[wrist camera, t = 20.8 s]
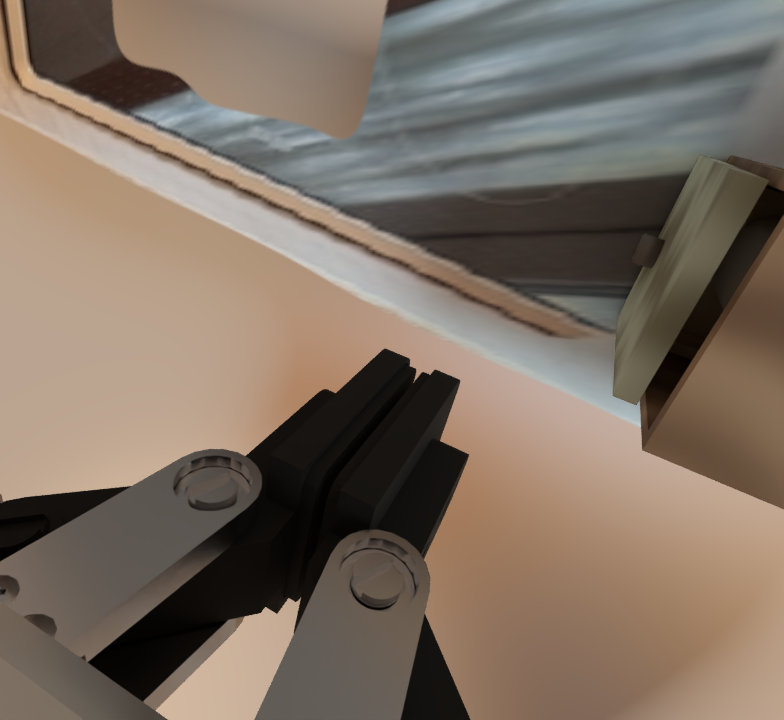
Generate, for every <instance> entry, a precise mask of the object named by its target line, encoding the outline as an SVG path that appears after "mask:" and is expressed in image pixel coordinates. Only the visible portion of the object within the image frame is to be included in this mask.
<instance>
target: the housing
mask: <svg viewBox="0 0 784 720" xmlns="http://www.w3.org/2000/svg"><path fill="white" fill-rule="evenodd" d="M727 163H728V164H730V165H733V166H735V167H738V168H740V169H743V170H745V171H747V172H750V173H752V174H755V175H757V176H760V177H762V178H765V179H767V180H769V182H768V184H767V185H766V186H770V187H773V188H777V189H779V190H782V191H784V169H781V168H777V167H773V166H769V165H766V164H762V163H758V162H754V161H750V160H747V159H743V158H739V157H735V156H732V155H731V156H730V158H729V160H728V162H727ZM640 410H641V432H642V450H643V451H646V452H648V453H651V454H653V455H656V456H658V457H660V458H662V459H665V460H667V461H670V462H672V463H674V464H677V465H679V466H682V467H684V468H686V469H689V470H691V471H694V472H696V473H698V474H701V475H703V476H706V477H708V478H710V479H713V480H715V481H718V482H720V483H722V484H725V485H727V486H730V487H732V488H734V489H737V490H739V491H741V492H744V493H746V494H749V495H751V496H754V497H756V498H758V499H761V500H763V501H765V502H768V503H770V504H773V505H775V506H778V507H780V508H782V509H784V215H783V216H782V218H781V220H780V221H779V223H778V224H777V226H776V228H775V229H774V231H773V232H772V234H771V236H770V237H769V239H768V240H767V242H766V244H765V245H764V247H763V248H762V250H761V252H760V253H759V255H758V256H757V258H756V260H755V261H754V263H753V264H752V266H751V267H750V269H749V271H748V272H747V274H746V275H745V277H744V279H743V280H742V282H741V283H740V285H739V287H738V288H737V290H736V291H735V293H734V295H733V296H732V298H731V299H730V301H729V303H728V304H727V306H726V307H725V309H724V311H723V312H722V314H721V315H720V317H719V319H718V320H717V322H716V323H715V325H714V326H713V328H712V330H711V331H710V333H709V334H708V336H707V338H706V339H705V341H704V342H703V344H702V346H701V347H700V349H699V350H698V352H697V354H696V355H695V357H694V358H693V360H691V359H688V358H685V357H683V356H680V355H677V354H674V353H672V352H669V351H668V353H667V354H666V356H665V358H664V360H663V361H662V363H661V365H660V366H659V368H658V370H657V371H656V373H655V375H654V376H653V378H652V380H651V381H650V383H649V385H648V387H647V388H646V390H645V392H644V393H643V395H642V397H641V398H640Z"/></svg>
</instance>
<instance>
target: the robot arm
mask: <svg viewBox="0 0 784 720" xmlns="http://www.w3.org/2000/svg"><path fill="white" fill-rule="evenodd" d="M409 365H410V359H409V358H407V357H404V356H402V355H400V354H397V353H395V352H393V351H390V350H388V349H384V350H382V351H381V352H380V353H379V354H378V355H377V356H376V357H375V358H373V359H372V360H371V361H370V362H369V363H368V364H367V365H366V366H365V367H364V368H363V369H362V370H361V371H359V372H358V373H357V374H356V375H355V376H354V377H353V378H352V379H351V380H350V381H349V382H348V383H347V384H346V385H344V386H343V387H342V388H341V389H340V390H339V391H338V392H337V393H334V392H331V391H329V390H327V389H324V390H322V391H320V392H319V393H317V394H316V395H315V396H314V397H313V398H312V399H310V400H309V401H308V402H307V403H306V404H305V405H304V406H302V407H301V408H300V409H299V410H298V411H297V412H296V413H295V414H293V415H292V416H291V417H290V418H289V419H288V420H286V421H285V422H284V423H283V424H282V425H281V426H279V427H278V428H277V429H276V430H275V431H274V432H273V433H272V434H270V435H269V436H268V437H267V438H266V439H265V440H264V441H262V442H261V443H260V444H259V445H258V446H257V447H255V448H254V449H253V450H252V451H251V452H250V453H249V454H247V455H246V456H244V455H242V454H240V453H238V452H234V451H229V450H224V449H208V450H202V451H198V452H194V453H191V454H189V455H187V456H184V457H182V458H180V459H178V460H177V461H175V462H173V463H172V464H170V465H168V466H166V467H164V468H163V469H161V470H159V471H157V472H156V473H154V474H152V475H150V476H149V477H147V478H145V479H144V480H142V481H140V482H138V483H137V484H135V485H133V486H129V487H119V488H109V489H100V490H90V491H80V492H71V493H61V494H51V495H42V496H32V497H24V498H19V499H14V500H9V501H5V502H3V500H2V496H1V494H0V720H167V719H166V718H164V717H163V716H162V715H160V714H159V713H158V712H156V711H155V710H156V709H157V708H158V707H159V706H160V705H161V704H162V703H163V702H164V701H165V700H166V699H167V698H168V697H169V696H170V695H171V694H172V693H173V692H174V691H175V690H176V689H177V688H178V687H179V686H180V685H181V684H182V683H183V682H184V681H185V680H186V679H187V678H188V677H189V676H190V675H191V674H192V673H193V672H194V671H195V670H196V669H197V668H198V667H199V666H200V665H201V664H202V663H203V662H204V661H205V660H207V659H208V657H210V656H211V655H212V654H213V652H214V651H216V650H217V649H218V648H219V647H220V646H221V645H222V643H224V641H226V640H227V639H228V638H229V637H230V636H231V635H232V634H233V633H234V632H235V630H236V629H237V628H238V626H239V625H240V624H241V623H242V621H243V618H244V616H249V615H253V614H258V613H261V612H262V610H263V609H264V608H265V607H267V608H269V609H270V610H272V611H273V612H275V613H278V612H279V611H280V609H281V608H282V606H283V605H284V603H285V602H286V601H287V599H288V598H290V599H292V600H294V601H295V602H296V601H298V600H299V599H300V598H301V601H300V605H299V610H298V615H297V620H296V624H295V629H294V635H293V637H292V639H291V642H290V644H289V646H288V648H287V650H286V652H285V655H284V657H283V659H282V661H281V663H280V665H279V668H278V670H277V672H276V674H275V676H274V678H273V681H272V683H271V685H270V687H269V689H268V691H267V694H266V696H265V698H264V700H263V702H262V705H261V707H260V709H259V711H258V713H257V715H256V717H255V720H470V718H469V715H468V713H467V711H466V708H465V706H464V704H463V701H462V699H461V697H460V694H459V692H458V690H457V687H456V685H455V683H454V680H453V678H452V676H451V673H450V671H449V669H448V667H447V664H446V662H445V660H444V657H443V655H442V653H441V650H440V648H439V646H438V643H437V641H436V639H435V637H434V634H433V632H432V630H431V627H430V625H429V622H428V620H427V618H426V615H425V610H426V605H427V601H428V596H429V592H430V575H429V572H428V568H427V565H426V562H425V561H424V558H425V555H426V554H427V551H428V549H429V547H430V545H431V543H432V541H433V539H434V536H435V534H436V532H437V530H438V528H439V526H440V524H441V521H442V519H443V517H444V515H445V512H446V510H447V508H448V506H449V503H450V501H451V499H452V497H453V494H454V492H455V489H456V487H457V485H458V482H459V479H460V477H461V475H462V472H463V470H464V467H465V465H466V462H467V460H468V457H469V454H467V453H464V452H462V451H460V450H458V449H456V448H454V447H452V446H449V445H447V444H445V443H443V442H441V441H440V439H441V435H442V433H443V430H444V427H445V424H446V422H447V419H448V416H449V413H450V410H451V408H452V405H453V402H454V399H455V396H456V393H457V390H458V387H459V384H460V380H459V379H456V378H454V377H452V376H450V375H447V374H445V373H442V372H440V371H438V370H434V371H433V372H432V374H431V375H429V374H427V373H424V372H422V373H421V374H420V376H419V377H418V378H417V379H416V380H415V382H414V379H415V375H416V369H415V368H413V367H410V366H409ZM413 382H414V383H413Z"/></svg>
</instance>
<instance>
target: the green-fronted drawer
mask: <svg viewBox="0 0 784 720" xmlns="http://www.w3.org/2000/svg"><path fill="white" fill-rule="evenodd" d="M768 182H769V180H767V179H765V178H762V177H760V176H757V175H755V174H752V173H750V172H747V171H745V170H743V169H740V168H738V167H735V166H733V165H730V164H728V163H725V162H723V161H720V160H717V159H713V158H709V157H705V156H702V155H700V156H699V158H698V160H697V162H696V164H695V166H694V168H693V170H692V172H691V174H690V176H689V177H688V179H687V181H686V183H685V185H684V187H683V189H682V191H681V193H680V195H679V197H678V199H677V201H676V203H675V205H674V207H673V209H672V211H671V213H670V215H669V217H668V219H667V221H666V223H665V225H664V227H663V229H662V230H661V232H660V234H659V236H658V238H657V237H654V236H651V235H647V234H643V235H642V237H641V239H640V240H639V242H638V244H637V246H636V248H635V251H634V253H633V255H632V258H631V262H632V263H635V264H638V265H641V266H643V268H642V270H641V272H640V274H639V276H638V278H637V280H636V282H635V283H634V285H633V287H632V289H631V291H630V293H629V295H628V297H627V299H626V301H625V303H624V305H623V307H622V309H621V311H620V313H619V315H618V317H617V328H616V346H615V364H614V382H613V396H614V397H617V398H619V399H622V400H624V401H627V402H630V403H632V404H635V405H637V403H638V402H639V400H640V398H641V397H642V395H643V393H644V392H645V390H646V388H647V387H648V385H649V383H650V381H651V380H652V378H653V376H654V375H655V373H656V371H657V370H658V368H659V366H660V365H661V363H662V361H663V360H664V358H665V356H666V354H667V353H668V351H669V352H672V353H674V354H677V355H680V356H683V357H685V358H688V359H691V360H693V358H694V357H695V355H696V354H697V352H698V350H699V349H700V347H701V346H702V344H703V342H704V341H705V339H706V338H707V336H708V334H709V333H710V331H711V330H712V328H713V326H714V325H715V323H716V322H717V320H718V319H719V317H720V315H721V314H722V312H723V311H724V310H723V308H722V306H721V304H720V302H719V300H718V297H717V295H716V293H715V290H714V287H713V283H712V277H713V275H714V273H715V272H716V270H717V268H718V267H719V265H720V263H721V261H722V260H723V258H724V256H725V255H726V253H727V251H728V250H729V248H730V246H731V245H732V243H733V241H734V239H735V238H736V236H737V234H738V233H739V231H740V229H742V228H743V227H745V226H747V225H749V224H751V223H753V222H755V221H758V220H760V219H764V218H767V217H772V216H778V215H784V191H782V190H779V189H777V188H773V187H770V186H766V185H767V184H768Z"/></svg>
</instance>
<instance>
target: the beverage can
mask: <svg viewBox="0 0 784 720" xmlns="http://www.w3.org/2000/svg"><path fill="white" fill-rule="evenodd" d="M782 216H783V215H778V216H772V217H767V218H764V219H760V220H758V221H755V222H753V223H751V224H749V225H747V226H745V227H743V228H742V229H740V231H739V233H738V234H737V236H736V238H735V239H734V241H733V243H732V245H731V246H730V248H729V250H728V251H727V253H726V255H725V256H724V258H723V260H722V261H721V263H720V265H719V267H718V268H717V270H716V272H715V273H714V275H713V277H712V283H713V287H714V290H715V293H716V295H717V297H718V300H719V302H720V304H721V306H722V308H723V310H724V309H725V307H726V306H727V304H728V303H729V301H730V299H731V298H732V296H733V295H734V293H735V291H736V290H737V288H738V287H739V285H740V283H741V282H742V280H743V279H744V277H745V275H746V274H747V272H748V271H749V269H750V267H751V266H752V264H753V263H754V261H755V260H756V258H757V256H758V255H759V253H760V252H761V250H762V248H763V247H764V245H765V244H766V242H767V240H768V239H769V237H770V236H771V234H772V232H773V231H774V229H775V228H776V226H777V224H778V223H779V221H780V220H781V218H782Z"/></svg>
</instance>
